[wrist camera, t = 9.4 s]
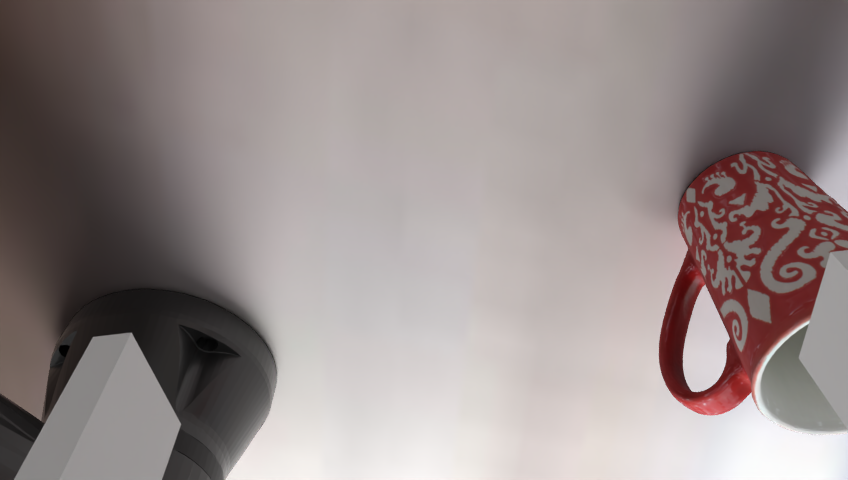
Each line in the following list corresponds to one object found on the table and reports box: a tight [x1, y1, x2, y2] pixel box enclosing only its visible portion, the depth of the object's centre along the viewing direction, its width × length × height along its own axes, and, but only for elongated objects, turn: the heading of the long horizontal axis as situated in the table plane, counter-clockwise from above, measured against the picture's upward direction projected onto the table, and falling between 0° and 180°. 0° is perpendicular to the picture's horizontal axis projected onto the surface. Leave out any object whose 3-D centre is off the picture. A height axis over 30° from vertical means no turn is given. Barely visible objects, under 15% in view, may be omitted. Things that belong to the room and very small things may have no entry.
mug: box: [659, 151, 848, 435], centre depth 34 cm, size 13×9×14 cm
